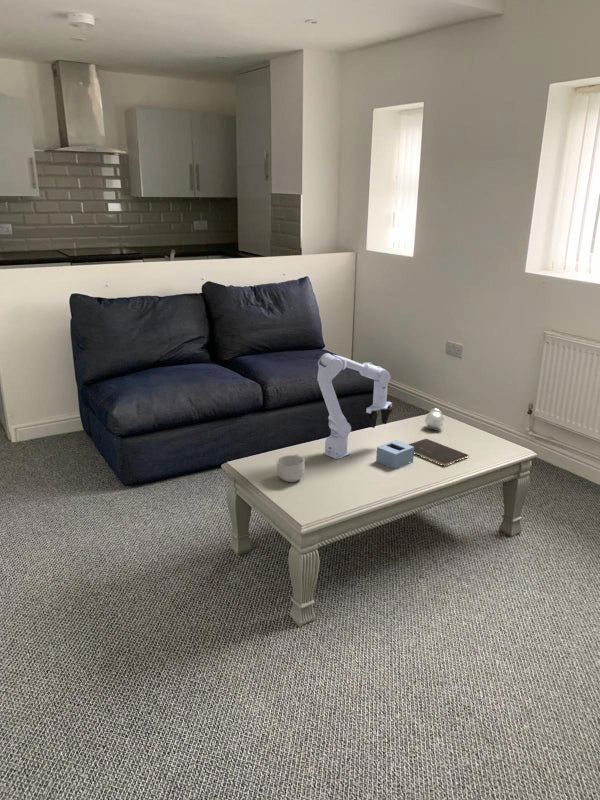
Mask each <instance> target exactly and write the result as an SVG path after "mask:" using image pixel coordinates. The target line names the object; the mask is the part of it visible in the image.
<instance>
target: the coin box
mask: <svg viewBox="0 0 600 800" xmlns="http://www.w3.org/2000/svg"><path fill="white" fill-rule="evenodd" d="M393 448H394V449H393ZM414 455H415V454H414V447H413V446H410V445H408V444H407V443H404V442H402V441H399V440H392V441H390V442H387V443H384V444H382V445H379V446H377V447H376V459H375V460H376V463H380V464H381V465H384V466H387V467H389V468H391V469H394V470H395V469H398V468H400V467H402V466H405V464H406V465H407V463H408V464H410V463H412V461H413V462H414ZM409 462H410V463H409Z"/></svg>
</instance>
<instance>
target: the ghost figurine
mask: <svg viewBox="0 0 600 800" xmlns="http://www.w3.org/2000/svg"><path fill="white" fill-rule="evenodd" d="M424 422H425V425H426V426H427V428H428V429H430V430H433V429H437V430H439V429H442V427H443V426H444V424H445V417H444V416H443V412H442V411H441V410H440V409H439V408H436V407H434V408H432V409H430V411H429V412H428V413H427V414H426V416H425V419H424Z"/></svg>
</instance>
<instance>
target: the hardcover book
mask: <svg viewBox="0 0 600 800" xmlns="http://www.w3.org/2000/svg"><path fill="white" fill-rule="evenodd" d="M408 445H410V446H413V447H414V453H415V454H417V455H420V456H422V457H425V458H427V459H430V460H432V461H434V462H437V463H439V464H442V465H444V466H445V465H448V464H450V463H453V462H455V461H457V460H460V459H462V458H465V457H467V456H468V457H469V454H467V453H464V452H462V451H459V450H457V449H454V448H451V447H449V446H447V445H443V444H441V443H438V442H436V441H433V440H431V439H429V438H424V439H421V440H416V441H414V442H412V443H409V444H408ZM415 454H414V455H415ZM417 455H416V456H417ZM420 456H419V457H420ZM422 457H421V458H422ZM427 459H426V460H427ZM432 461H431V462H432ZM434 462H433V463H434ZM437 463H436V464H437ZM439 464H438V465H439ZM453 464H454V463H453ZM450 465H451V464H450ZM444 466H443V467H444ZM448 466H449V465H448ZM445 467H446V466H445Z"/></svg>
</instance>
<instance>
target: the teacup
mask: <svg viewBox="0 0 600 800" xmlns="http://www.w3.org/2000/svg"><path fill="white" fill-rule="evenodd" d="M276 465H277V468H276V469H277V474H278V477H279V478H280V479H281V480H283V481H284V482H287V483H288V482H289V483H295V482H297V481H299V480H300V479H302V478H303V477H304V475H305V471H306V470H305V469H306V468H305V467H306V466H305V458H304V457H303V456H300V454H298V453H295V454H294V455H293V454H291V455H290V454H289V455H284V456H281V457H279V458H278V459H277V460H276Z"/></svg>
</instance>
